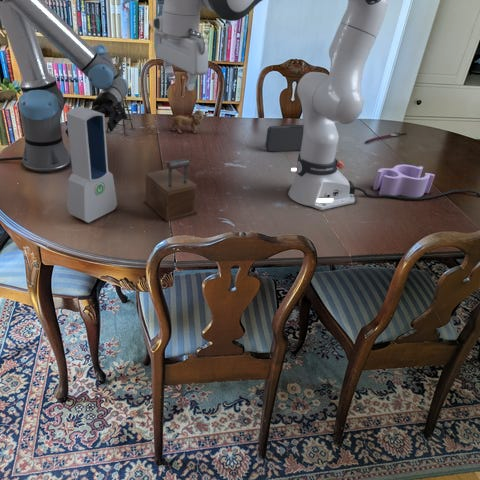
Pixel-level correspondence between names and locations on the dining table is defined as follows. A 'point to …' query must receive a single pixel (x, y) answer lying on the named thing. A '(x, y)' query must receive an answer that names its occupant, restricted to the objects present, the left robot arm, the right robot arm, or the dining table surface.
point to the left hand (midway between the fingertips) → (88, 131)
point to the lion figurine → (188, 121)
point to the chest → (170, 202)
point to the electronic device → (89, 166)
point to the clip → (403, 181)
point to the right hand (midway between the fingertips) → (179, 84)
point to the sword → (384, 137)
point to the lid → (172, 178)
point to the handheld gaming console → (284, 138)
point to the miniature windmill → (120, 72)
